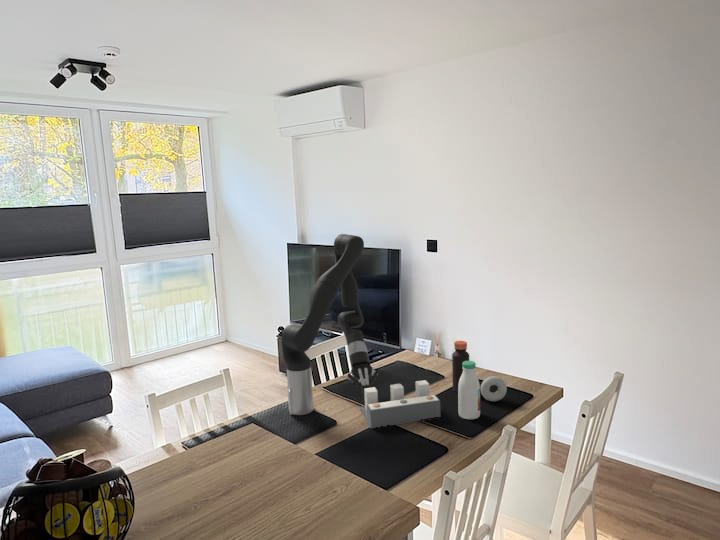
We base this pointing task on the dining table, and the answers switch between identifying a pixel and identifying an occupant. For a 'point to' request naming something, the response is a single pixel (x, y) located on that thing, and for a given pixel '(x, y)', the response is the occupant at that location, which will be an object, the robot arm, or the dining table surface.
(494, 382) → the donut
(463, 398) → the milk bottle
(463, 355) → the vinegar
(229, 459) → the dining table surface
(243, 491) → the dining table surface
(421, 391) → the key right
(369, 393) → the key left
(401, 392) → the key middle
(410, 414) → the block
